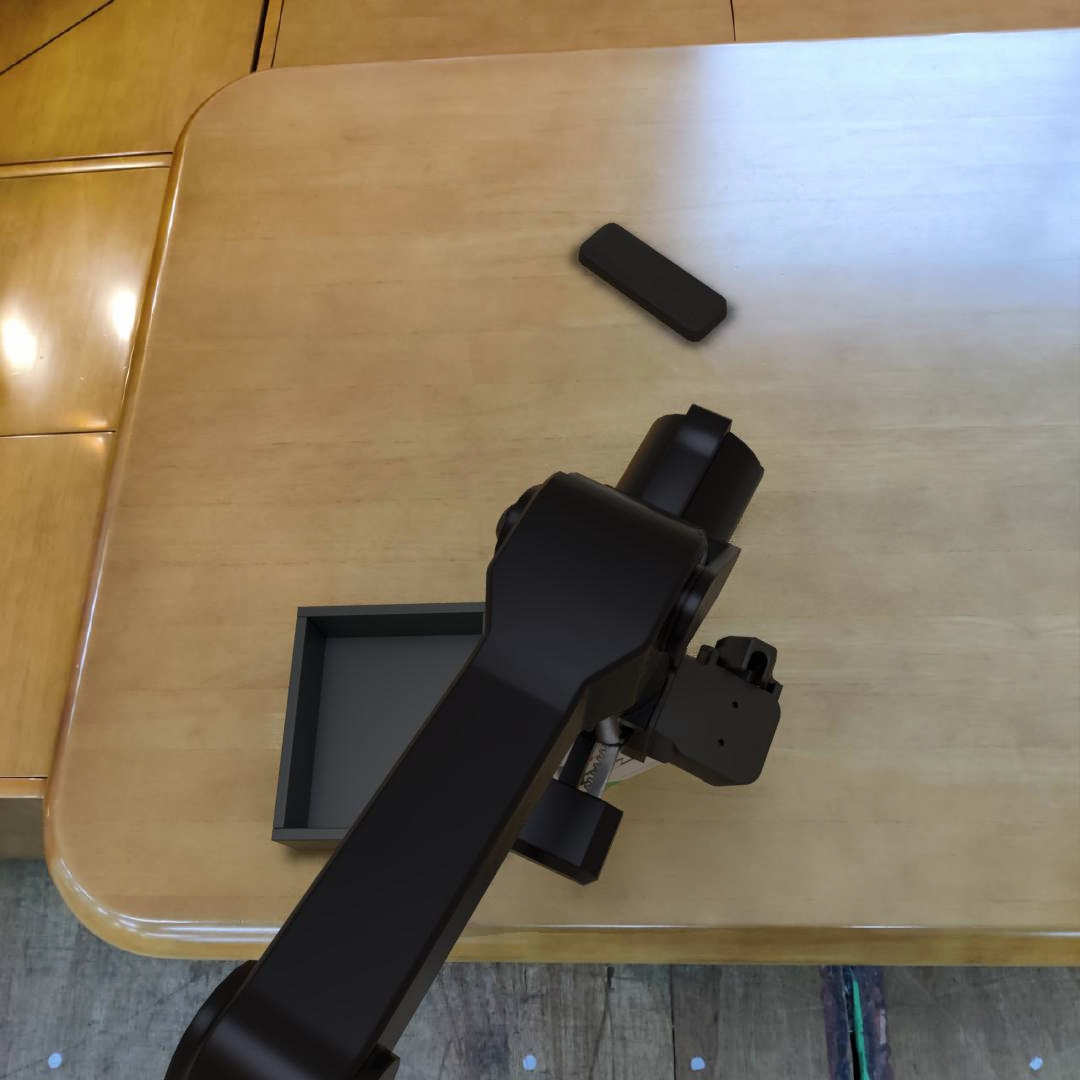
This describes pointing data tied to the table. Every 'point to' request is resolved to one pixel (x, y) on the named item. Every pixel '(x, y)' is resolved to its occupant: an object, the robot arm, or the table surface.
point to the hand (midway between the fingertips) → (608, 730)
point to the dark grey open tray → (360, 706)
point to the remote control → (653, 281)
